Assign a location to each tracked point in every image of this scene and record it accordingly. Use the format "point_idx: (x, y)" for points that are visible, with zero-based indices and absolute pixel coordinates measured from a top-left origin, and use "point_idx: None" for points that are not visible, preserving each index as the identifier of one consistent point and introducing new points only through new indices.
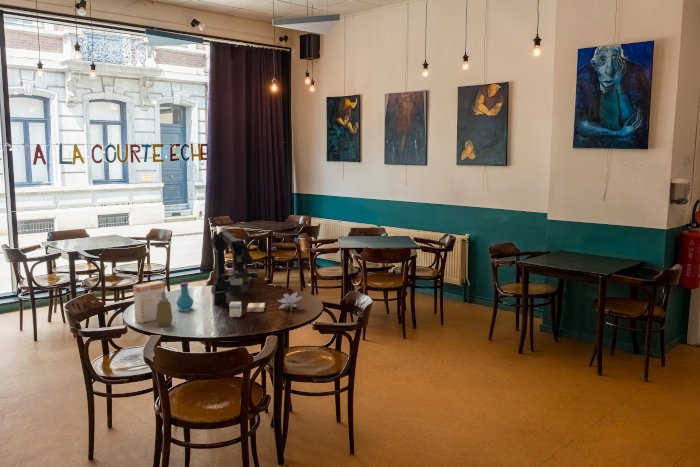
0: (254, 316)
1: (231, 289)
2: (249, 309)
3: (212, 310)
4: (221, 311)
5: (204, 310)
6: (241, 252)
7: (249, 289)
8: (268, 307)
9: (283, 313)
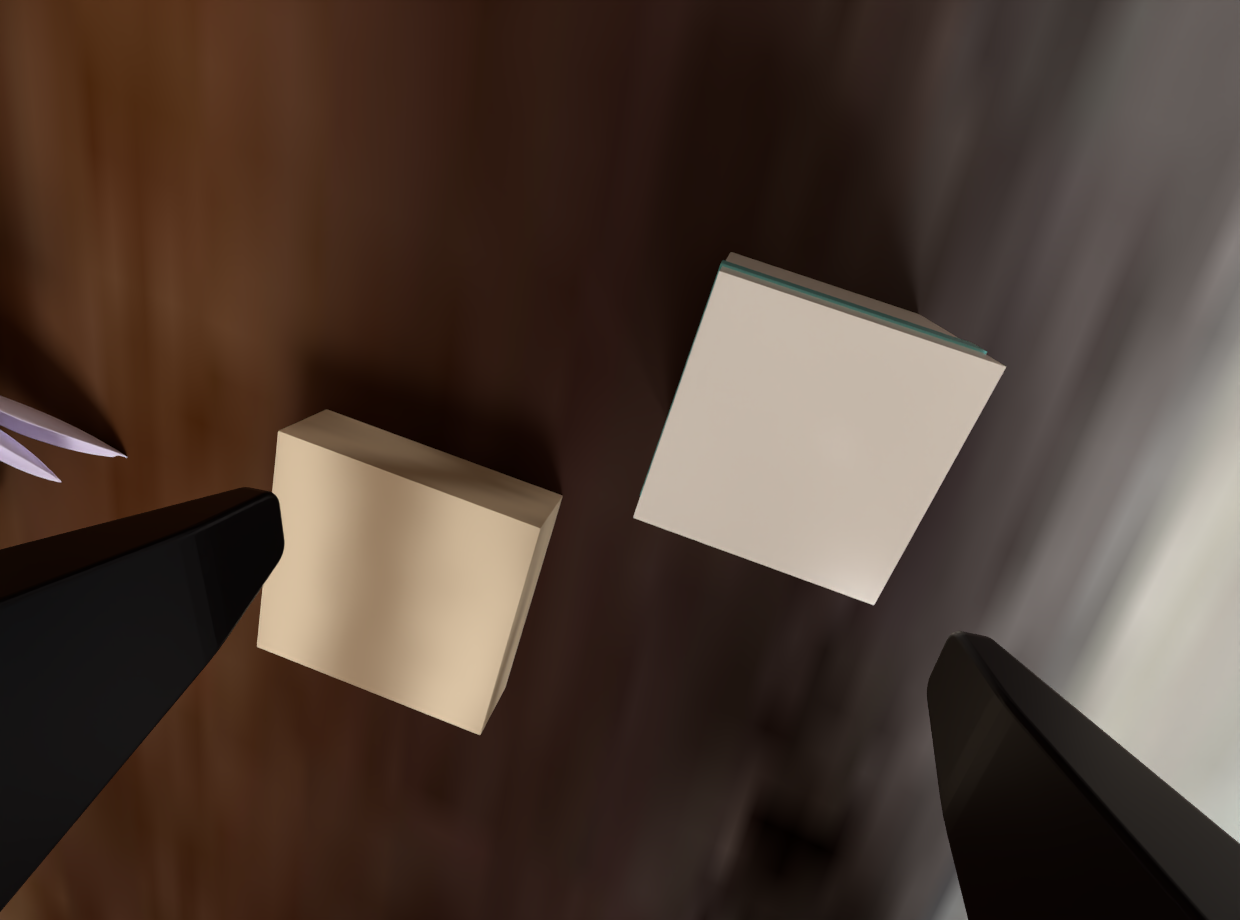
0: (488, 171)
1: (1059, 737)
2: (514, 498)
3: None
4: None
5: None
6: None
7: (190, 510)
8: None
9: (41, 177)
